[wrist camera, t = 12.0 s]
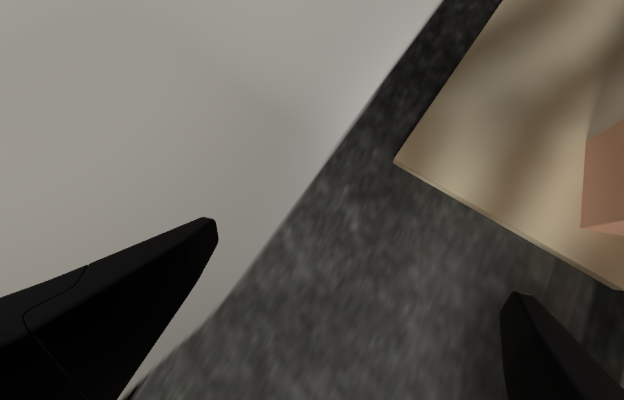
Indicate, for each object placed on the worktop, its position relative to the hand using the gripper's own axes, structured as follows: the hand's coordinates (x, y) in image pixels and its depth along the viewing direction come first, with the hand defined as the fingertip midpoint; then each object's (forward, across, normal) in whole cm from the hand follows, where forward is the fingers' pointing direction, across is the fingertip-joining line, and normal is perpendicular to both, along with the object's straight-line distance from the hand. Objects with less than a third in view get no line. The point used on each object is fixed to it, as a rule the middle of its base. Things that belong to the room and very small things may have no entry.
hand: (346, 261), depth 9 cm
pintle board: (+19, -12, 0) cm, 23 cm away
